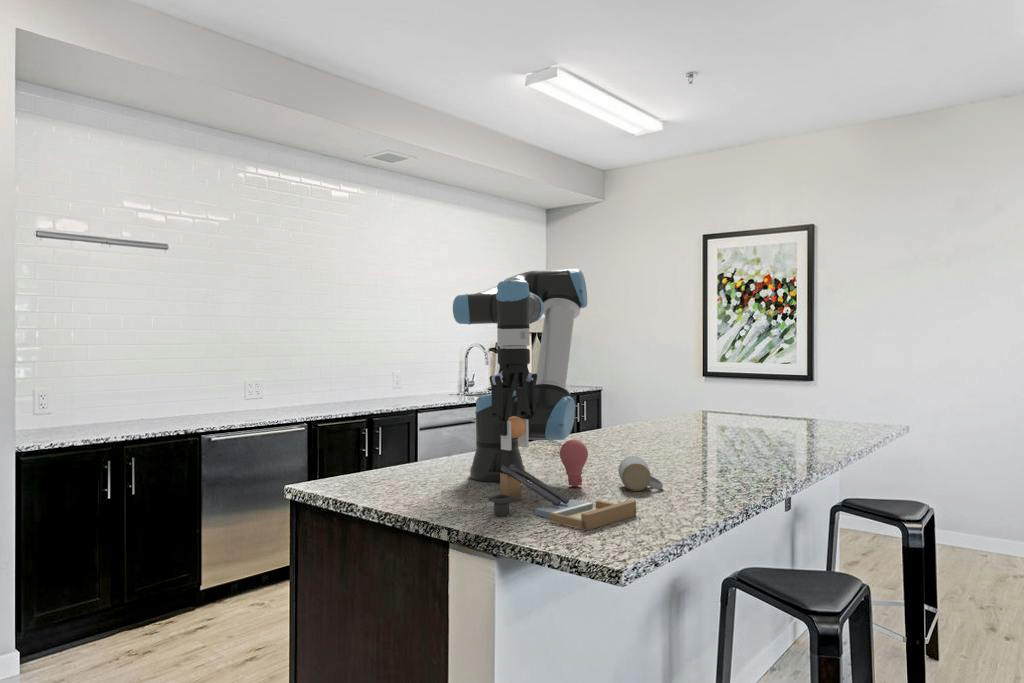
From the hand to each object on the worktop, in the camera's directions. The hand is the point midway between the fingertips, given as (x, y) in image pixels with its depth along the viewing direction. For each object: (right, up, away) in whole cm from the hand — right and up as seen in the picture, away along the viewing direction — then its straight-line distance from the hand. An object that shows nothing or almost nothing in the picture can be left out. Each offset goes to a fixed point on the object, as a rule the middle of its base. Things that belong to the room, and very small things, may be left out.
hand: (514, 448), depth 156 cm
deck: (+11, -12, -11) cm, 19 cm away
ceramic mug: (+31, -12, +12) cm, 36 cm away
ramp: (+4, -12, -4) cm, 14 cm away
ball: (0, +5, 0) cm, 5 cm away
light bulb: (+15, -12, +15) cm, 24 cm away
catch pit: (+16, -12, -16) cm, 26 cm away
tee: (-3, -12, -13) cm, 18 cm away
